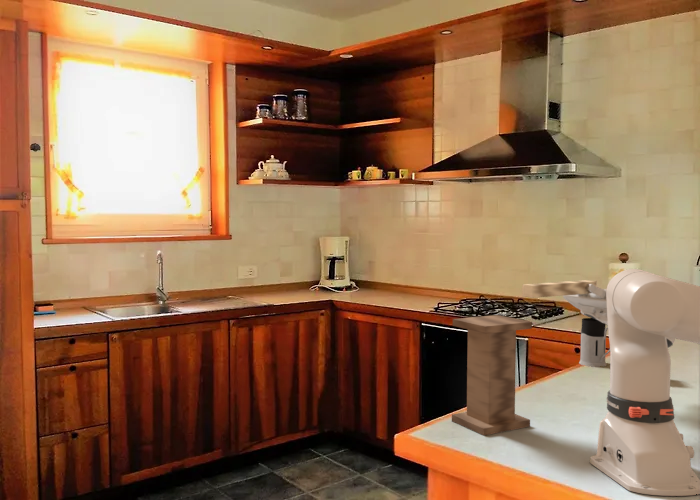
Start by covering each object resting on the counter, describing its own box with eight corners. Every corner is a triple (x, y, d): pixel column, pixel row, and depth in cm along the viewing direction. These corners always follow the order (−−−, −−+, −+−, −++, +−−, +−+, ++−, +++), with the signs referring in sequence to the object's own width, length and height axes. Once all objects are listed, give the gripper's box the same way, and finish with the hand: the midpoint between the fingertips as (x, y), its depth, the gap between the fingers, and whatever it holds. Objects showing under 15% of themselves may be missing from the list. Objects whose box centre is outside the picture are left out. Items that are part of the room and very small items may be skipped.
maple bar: (585, 291, 175) (585, 280, 175) (596, 292, 172) (596, 281, 172) (522, 296, 164) (522, 284, 164) (532, 297, 161) (532, 285, 161)
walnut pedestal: (496, 412, 168) (497, 314, 166) (530, 426, 157) (531, 321, 156) (451, 421, 161) (452, 319, 160) (483, 435, 151) (485, 326, 149)
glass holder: (593, 360, 229) (594, 317, 228) (624, 369, 216) (625, 323, 215) (573, 362, 226) (574, 318, 225) (603, 371, 212) (604, 325, 212)
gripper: (641, 324, 168) (608, 300, 162) (578, 314, 186) (547, 292, 180) (650, 302, 169) (618, 277, 163) (587, 294, 187) (556, 271, 181)
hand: (580, 285), depth 171 cm, fingers closed on maple bar, 3 cm apart
